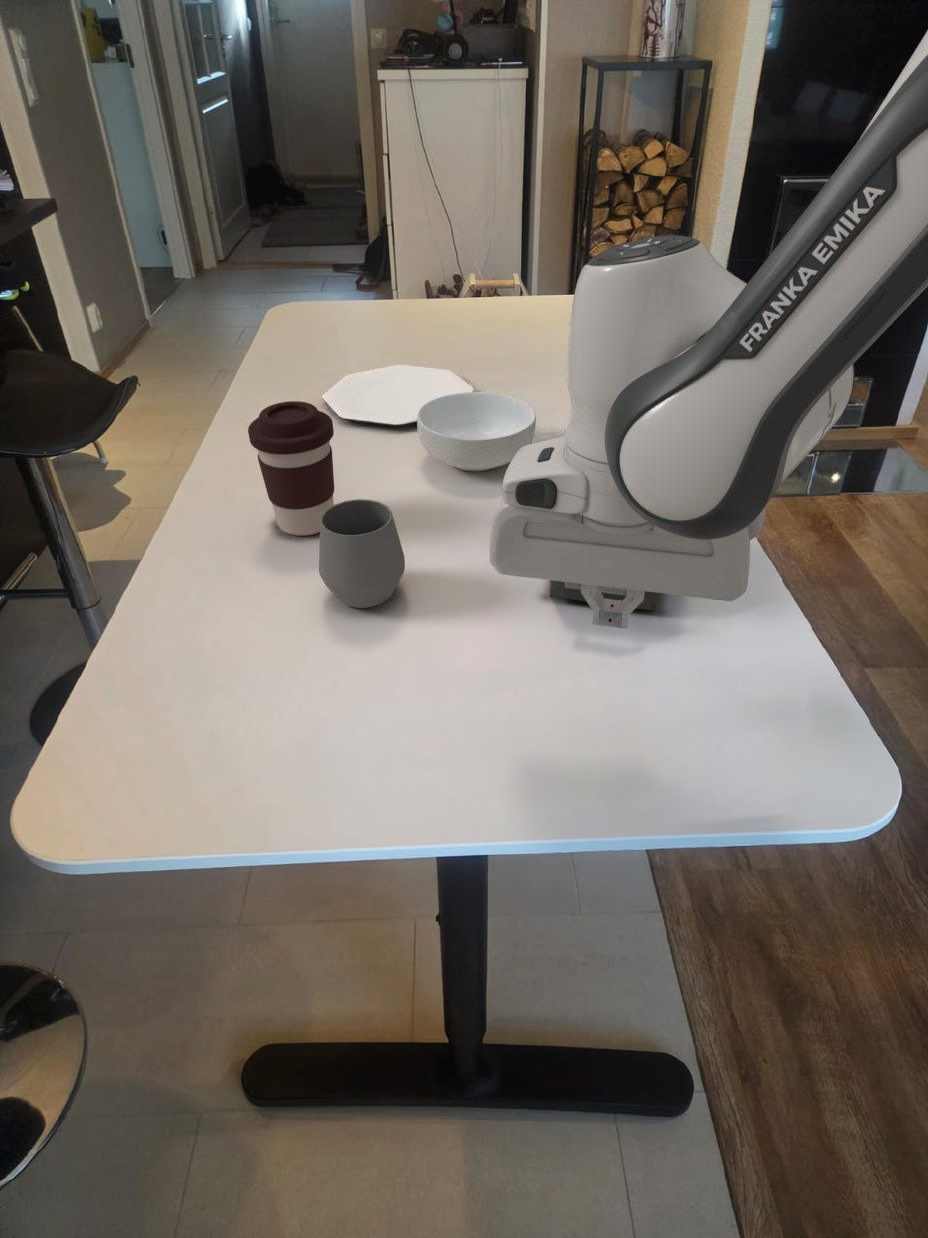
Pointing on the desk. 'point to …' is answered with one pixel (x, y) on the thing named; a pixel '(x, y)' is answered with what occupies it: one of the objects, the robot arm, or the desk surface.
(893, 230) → the robot arm
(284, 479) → the coffee cup
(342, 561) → the cup
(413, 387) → the plate
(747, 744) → the desk surface
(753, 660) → the desk surface
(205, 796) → the desk surface
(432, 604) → the desk surface
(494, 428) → the cereal bowl
